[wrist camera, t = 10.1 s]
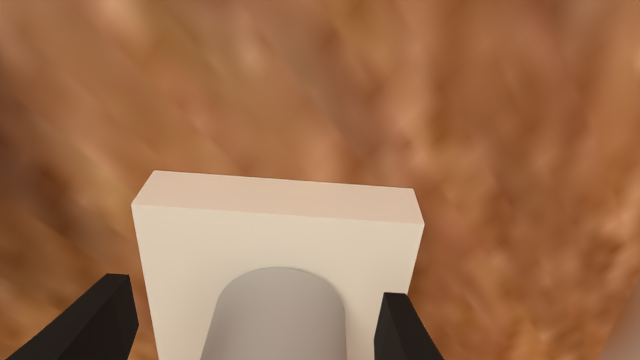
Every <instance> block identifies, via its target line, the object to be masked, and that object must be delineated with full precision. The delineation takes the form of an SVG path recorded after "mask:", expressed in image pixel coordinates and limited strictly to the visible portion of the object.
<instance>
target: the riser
mask: <svg viewBox="0 0 640 360" xmlns="http://www.w3.org/2000/svg"><path fill="white" fill-rule="evenodd" d="M131 207H132V213H133V218H134V224H135V229H136V235H137V240H138V246H139V251H140V257H141V262H142V268H143V273H144V279H145V285H146V290H147V296H148V301H149V307H150V312H151V318H152V323H153V329H154V334H155V340H156V345H157V351H158V356H159V360H200V358H201V355H202V351H203V348H204V344H205V341H206V337H207V334H208V331H209V327H210V324H211V320H212V317H213V313H214V310H215V306H216V303H217V300H218V298H219V295H220V294H221V292H222V291H223V289H224V288H225V287H226V286H227V285H228V284H229V283H230V282H231V281H232V280H234V279H235V278H237V277H239V276H240V275H242V274H244V273H247V272H250V271H253V270H256V269H261V268H268V267H285V268H292V269H297V270H301V271H304V272H307V273H310V274H312V275H314V276H316V277H318V278H320V279H322V280H323V281H325V282H326V283H327V284H328V285H330V286H331V287H332V288H333V289H334V290H335V292H336V293H337V294H338V296H339V297H340V299H341V301H342V303H343V306H344V310H345V326H346V349H347V360H375V359H374V335H375V331H376V326H377V322H378V317H379V313H380V308H381V303H382V299H383V294H384V292H392V293H405V294H406V295H407V293H408V289H409V285H410V281H411V277H412V273H413V269H414V265H415V261H416V257H417V253H418V249H419V245H420V241H421V237H422V233H423V229H424V225H425V224H424V221H423V218H422V215H421V212H420V209H419V205H418V202H417V199H416V196H415V193H414V190H413V189H411V188H397V187H383V186H369V185H355V184H341V183H327V182H313V181H298V180H284V179H270V178H256V177H242V176H228V175H214V174H200V173H186V172H172V171H157V170H154V171H153V173H152V174H151V176H150V177H149V179H148V180H147V182H146V183H145V184H144V186H143V187H142V189H141V190H140V192H139V193H138V195H137V196H136V198H135V199H134V201H133V202H132V204H131Z"/></svg>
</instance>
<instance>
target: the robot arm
mask: <svg viewBox="0 0 640 360" xmlns="http://www.w3.org/2000/svg"><path fill="white" fill-rule="evenodd" d="M138 326H139V323H138V318H137V313H136V308H135V303H134V298H133V293H132V287H131V282H130V277H129V275H123V274H109V273H107V274H106V275H105V276H103V277H102V278H101V279H100V280H99V281H98V282H96V283H95V284H94V285H93V286H92V287H91V288H90V289H89V290H87V291H86V292H85V293H84V294H83V295H82V296H81V297H80V298H78V299H77V300H76V301H75V302H74V303H73V304H72V305H71V306H69V307H68V308H67V309H66V310H65V311H64V312H63V313H61V314H60V315H59V316H58V317H57V318H56V319H54V320H53V321H52V322H51V323H50V324H49V325H47V326H46V327H45V328H44V329H43V330H42V331H40V332H39V333H38V334H37V335H36V336H34V337H33V338H32V339H31V340H29V341H28V342H27V343H26V344H24V345H23V346H22V347H21V348H19V349H18V350H17V351H16V352H14V353H13V354H12V355H10V356H9V357H8V358H7V359H5V360H127V359H128V356H129V353H130V350H131V347H132V345H133V342H134V338H135V335H136V332H137V329H138ZM374 359H375V360H444V359H443V357H442V355H441V354H440V352H439V351H438V349H437V348H436V346H435V344H434V343H433V341H432V339H431V338H430V336H429V334H428V333H427V331H426V329H425V327H424V326H423V324H422V322H421V320H420V318H419V317H418V315H417V313H416V311H415V309H414V307H413V305H412V303H411V301H410V299H409V297H408V296H407V295H406V294H405V293H392V292H384V294H383V299H382V303H381V308H380V313H379V317H378V322H377V326H376V331H375V335H374Z"/></svg>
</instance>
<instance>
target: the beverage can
mask: <svg viewBox="0 0 640 360" xmlns="http://www.w3.org/2000/svg"><path fill="white" fill-rule="evenodd" d="M200 360H347V349H346V326H345V310H344V306H343V303H342V301H341V299H340V297H339V296H338V294H337V293H336V292H335V290H334V289H333V288H332V287H331V286H330V285H328V284H327V283H326V282H325V281H323V280H322V279H320V278H318V277H316V276H314V275H312V274H310V273H307V272H304V271H301V270H297V269H292V268H285V267H268V268H261V269H256V270H253V271H250V272H247V273H244V274H242V275H240V276H239V277H237V278H235V279H234V280H232V281H231V282H230V283H229V284H228V285H227V286H226V287H225V288H224V289H223V291H222V292H221V294H220V295H219V298H218V300H217V303H216V306H215V310H214V313H213V317H212V320H211V324H210V327H209V331H208V334H207V337H206V341H205V344H204V348H203V351H202V355H201V358H200Z"/></svg>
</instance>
